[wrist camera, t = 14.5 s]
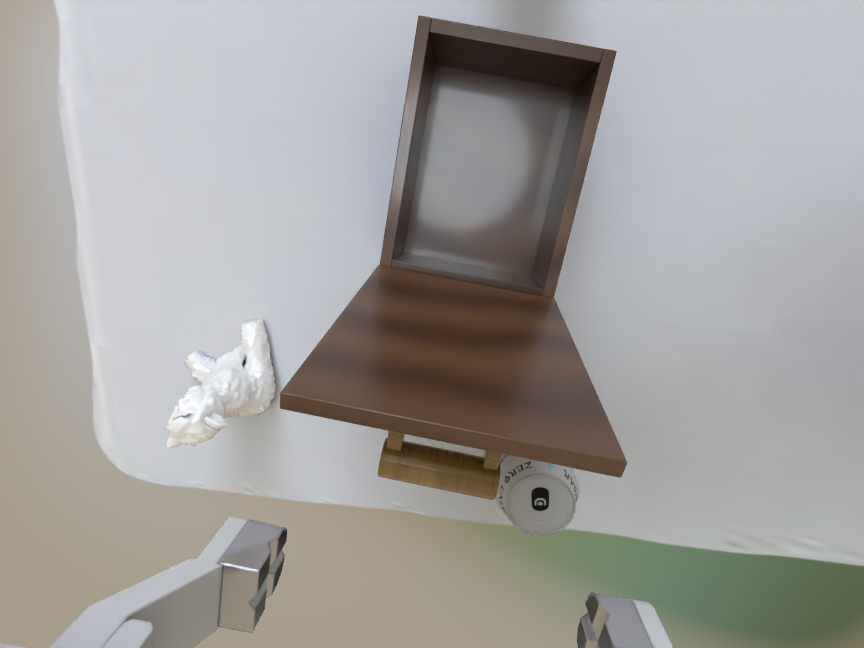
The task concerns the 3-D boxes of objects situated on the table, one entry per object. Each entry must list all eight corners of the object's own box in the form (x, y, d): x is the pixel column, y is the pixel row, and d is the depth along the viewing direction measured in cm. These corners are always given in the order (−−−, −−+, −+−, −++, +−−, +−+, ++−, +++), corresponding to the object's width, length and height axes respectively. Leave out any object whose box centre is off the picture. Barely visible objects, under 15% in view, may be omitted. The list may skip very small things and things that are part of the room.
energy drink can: (487, 441, 47) (497, 542, 32) (486, 386, 45) (496, 467, 31) (546, 440, 46) (583, 543, 32) (546, 385, 45) (585, 466, 30)
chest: (427, 54, 39) (418, 14, 31) (586, 83, 38) (616, 50, 31) (394, 259, 43) (379, 268, 35) (536, 286, 43) (552, 302, 35)
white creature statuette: (262, 312, 45) (192, 345, 34) (308, 383, 47) (257, 439, 35) (189, 354, 47) (98, 401, 35) (236, 422, 48) (164, 488, 37)
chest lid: (280, 392, 18) (276, 488, 20) (628, 462, 17) (588, 553, 19) (378, 264, 35) (371, 322, 37) (554, 298, 34) (537, 355, 36)
